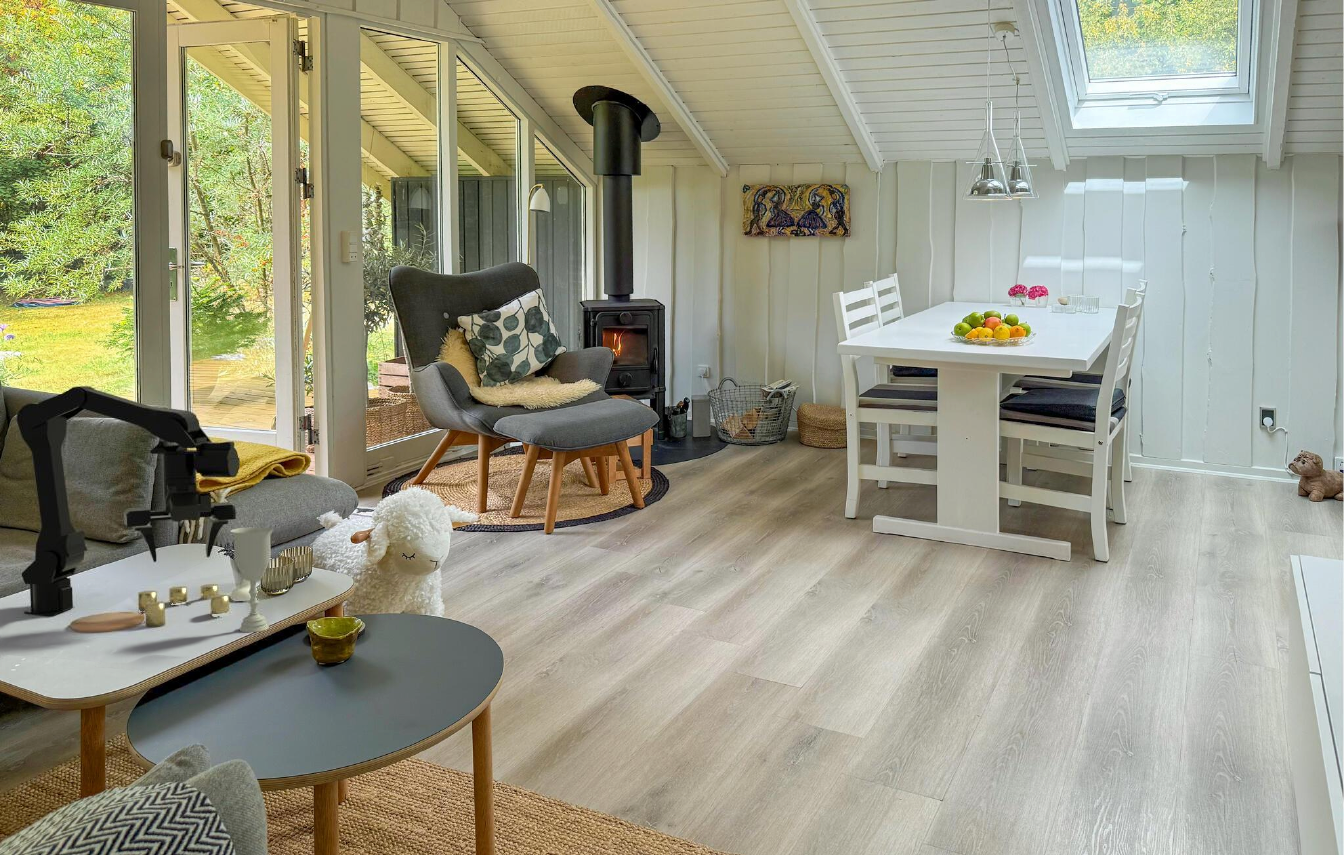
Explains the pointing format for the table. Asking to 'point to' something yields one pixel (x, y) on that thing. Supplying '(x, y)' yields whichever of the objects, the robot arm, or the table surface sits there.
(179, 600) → the spacer field
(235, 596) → the cream white mushroom
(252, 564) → the chalice
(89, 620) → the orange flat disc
